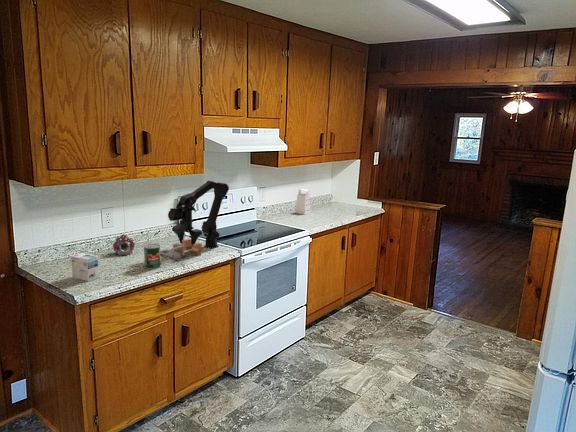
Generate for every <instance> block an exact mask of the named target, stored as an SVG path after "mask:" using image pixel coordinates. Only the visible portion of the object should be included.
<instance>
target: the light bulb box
mask: <svg viewBox="0 0 576 432" xmlns="http://www.w3.org/2000/svg"><path fill="white" fill-rule="evenodd" d="M70 259H71V260H70V262H71V275H72V278H73V279H77V280H82V281H86V282H91V281H94V280H97V279H98V278H100V276H101V275H100V262H99V261H100V260H99V255H95V254H91V253H84V252H80V253H76V254H72V255H70Z"/></svg>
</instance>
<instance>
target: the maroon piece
mask: <svg viewBox="0 0 576 432" xmlns="http://www.w3.org/2000/svg"><path fill="white" fill-rule="evenodd" d="M112 248H113V251H114V252H115V253H116V255H119V256H121V257H122V256H129V255H134V254H135V251H134V250H135V249H134V248H135V241H133V240H132V239H131V238H130V237H128V236H127V235H126V234H125V233H123V234H121V235H120V236H118V235H117V236H116V238H115V242H113V245H112Z"/></svg>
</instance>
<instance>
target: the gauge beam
mask: <svg viewBox="0 0 576 432" xmlns="http://www.w3.org/2000/svg"><path fill="white" fill-rule="evenodd" d="M172 245H173V246H172V248H174V247H178V246H182V244H181V243H179V242H178V243H173V244H172ZM202 250H203V243H201V242H196V243H195V244H193V247H187V248H186V250H184V251H183V252H182V247H181V248H177V249H174V251H177V252H180V253H181V252H182V254H183V256H185V255H186V254H187V255H192V256H196V257H199V256H202ZM185 252H186V253H185Z"/></svg>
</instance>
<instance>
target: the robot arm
mask: <svg viewBox="0 0 576 432" xmlns="http://www.w3.org/2000/svg"><path fill="white" fill-rule="evenodd" d="M229 189H230V187H229V185H228V184H227V183H224V182H219V181H218V182H215V181H213V180H207V181H206V182H205V183H203V184H202V185H201V186H199V187H198V188H196V189H195V190H193V191H192V192H190V193H186V194H184V195H182V196H180V197H179V201H178V203H177V204H176V206H175V207H171V208H169V211H168V213H167V217H168V220H169V221H171V222H172V221H179V223H178V224H176V225H173V226H172V228H171V230H172V231H171V232H173V233H174V234H176V236H177V237H178V239H179V244H182V240H184V237H185V233H189V237H190V238H189V239H191V245H192V247H193V244H196V243H197V240H198V239H199V237H200V236H202V235H203V236H204V237H205V245H203V246H204V248H208V249H216V248H218V247H220V246H219V245H218V238H219V237H220V232H218V231H217V226H218V225H217V219H218V216H219V213H220V209H221V206H222V203H223V200H224V198H225V197H226V196H227V194H228V192H229ZM211 190H213V194H214V197H213V201H212V205H211V206H210V207H211V208H210V211H209V215H208V218H207V220H206V221H205V220H204V221H203V222H202V225H201V229H198V228H195V229H194V226H193V223H194V221H195V220H194V219H193V211H195V210H196V207H195V208H194V205H195V204H196V203H197V200H198V199H199V198H201V197H202V196H204V195H205V194H206V193H208V192H209V191H211Z"/></svg>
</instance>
